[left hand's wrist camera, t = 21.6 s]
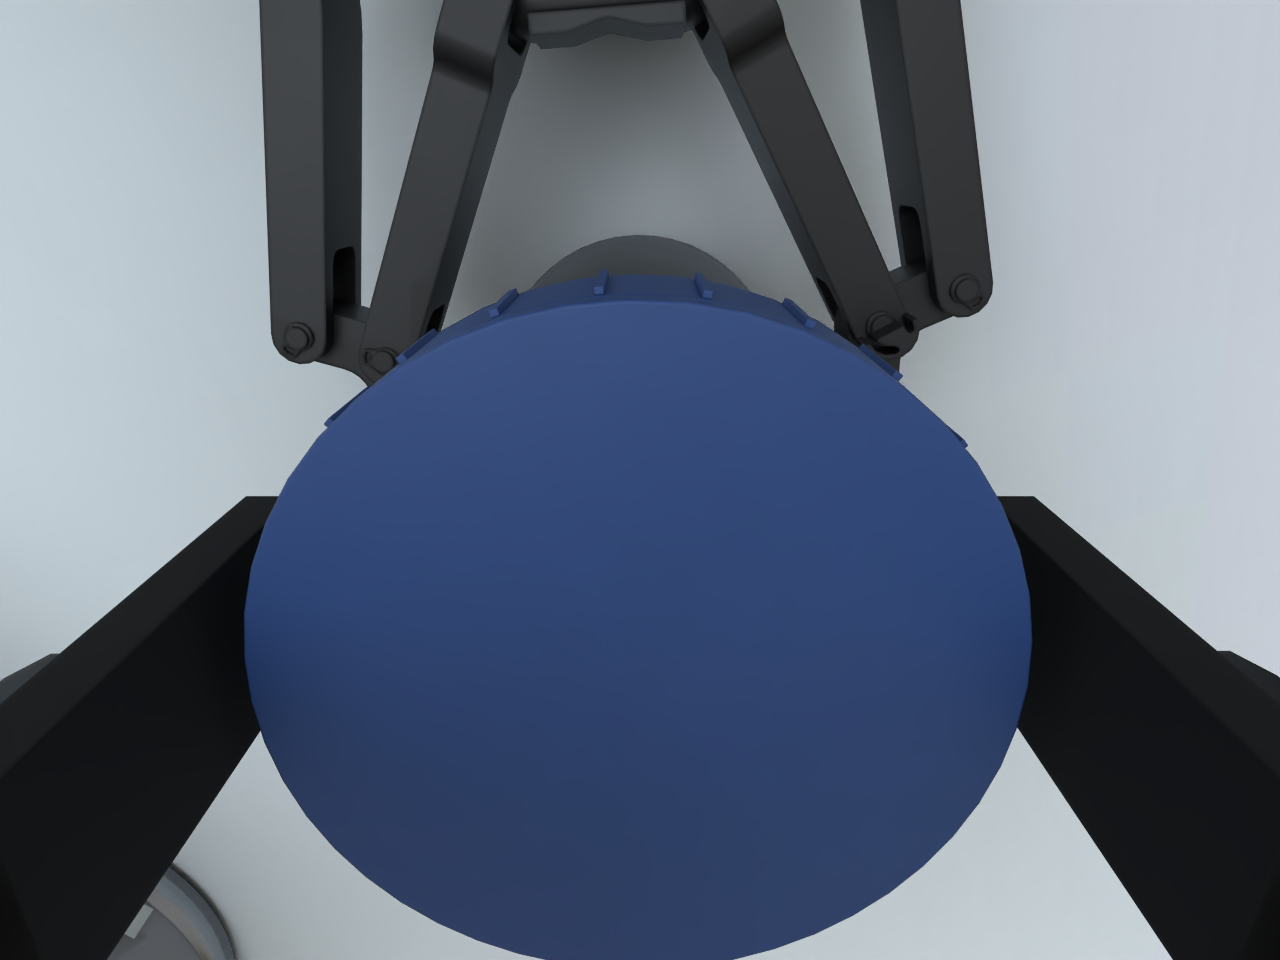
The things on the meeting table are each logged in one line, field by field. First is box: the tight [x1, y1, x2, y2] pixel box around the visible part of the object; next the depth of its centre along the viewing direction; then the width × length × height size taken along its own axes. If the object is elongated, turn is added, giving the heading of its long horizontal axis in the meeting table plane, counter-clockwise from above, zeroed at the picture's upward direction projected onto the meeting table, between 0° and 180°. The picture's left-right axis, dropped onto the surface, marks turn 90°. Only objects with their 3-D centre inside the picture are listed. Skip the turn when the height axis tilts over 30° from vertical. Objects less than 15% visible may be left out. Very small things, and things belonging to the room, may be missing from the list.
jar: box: [530, 235, 749, 292], centre depth 18 cm, size 8×8×16 cm
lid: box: [244, 269, 1032, 960], centre depth 11 cm, size 10×10×2 cm
